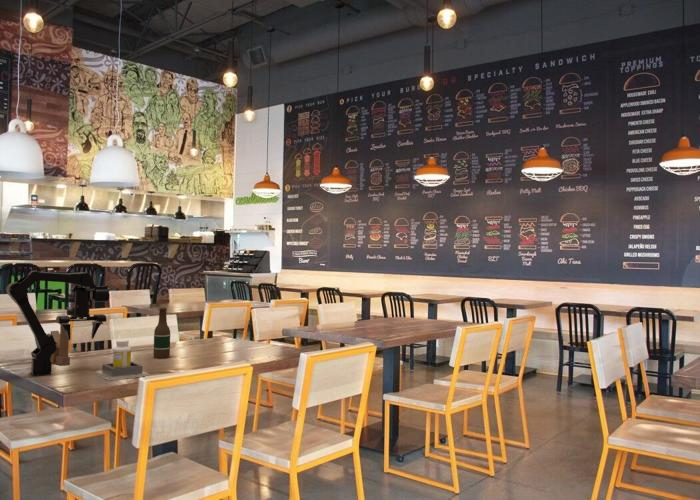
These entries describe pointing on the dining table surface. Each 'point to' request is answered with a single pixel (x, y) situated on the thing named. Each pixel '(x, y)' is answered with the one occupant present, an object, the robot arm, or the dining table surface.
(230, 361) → the dining table surface
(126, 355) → the supplement bottle
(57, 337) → the wooden block
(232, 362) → the dining table surface
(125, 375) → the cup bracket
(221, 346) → the dining table surface
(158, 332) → the beer bottle
